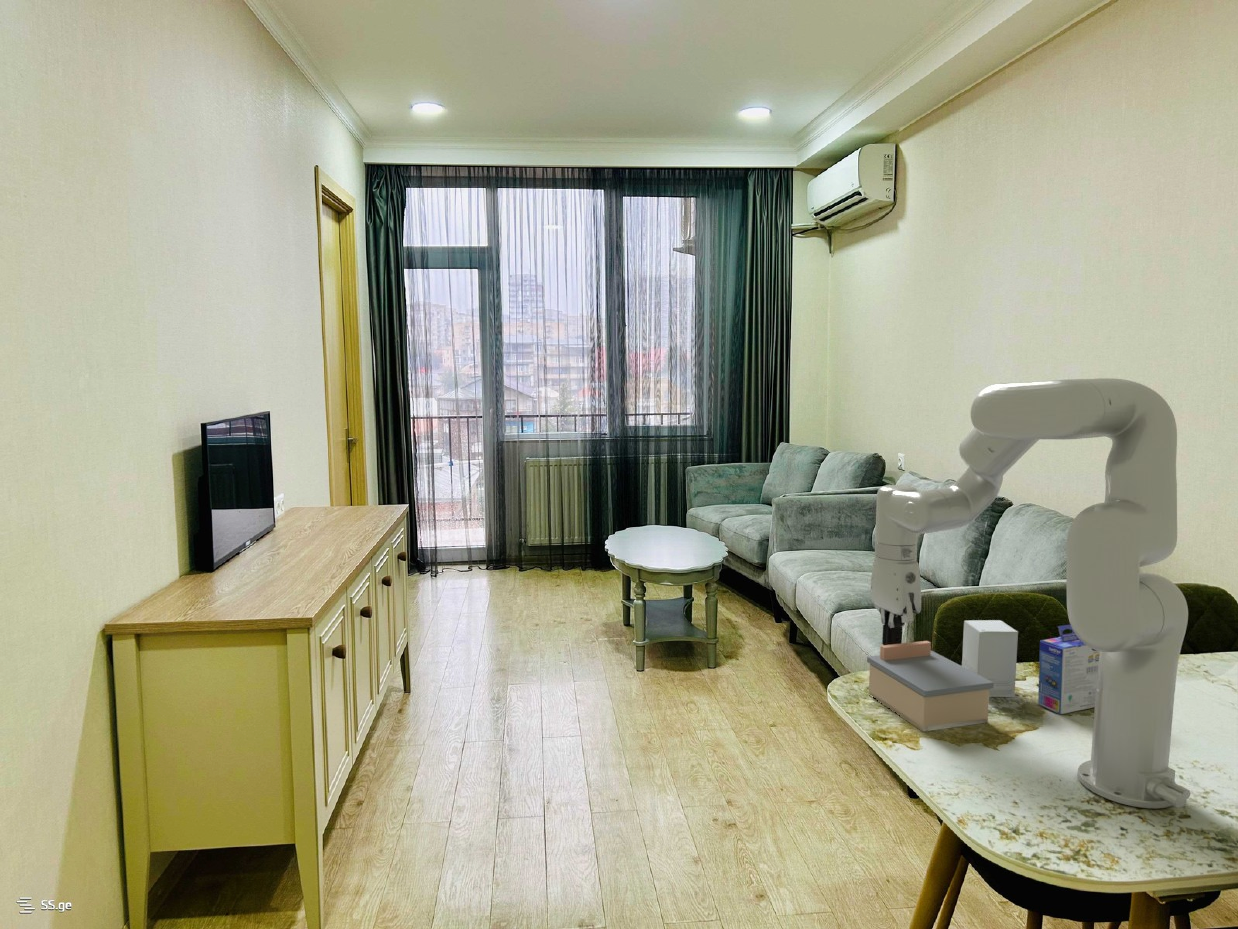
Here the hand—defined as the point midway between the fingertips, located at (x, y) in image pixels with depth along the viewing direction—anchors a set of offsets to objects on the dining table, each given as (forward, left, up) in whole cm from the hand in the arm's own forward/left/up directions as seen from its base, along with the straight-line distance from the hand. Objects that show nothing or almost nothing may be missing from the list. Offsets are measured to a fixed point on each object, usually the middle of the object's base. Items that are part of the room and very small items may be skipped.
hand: (891, 645), depth 157 cm
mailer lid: (-11, 0, -2) cm, 11 cm away
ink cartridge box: (-17, -25, -8) cm, 32 cm away
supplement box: (-7, -16, -8) cm, 20 cm away
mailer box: (-11, 0, -8) cm, 13 cm away
